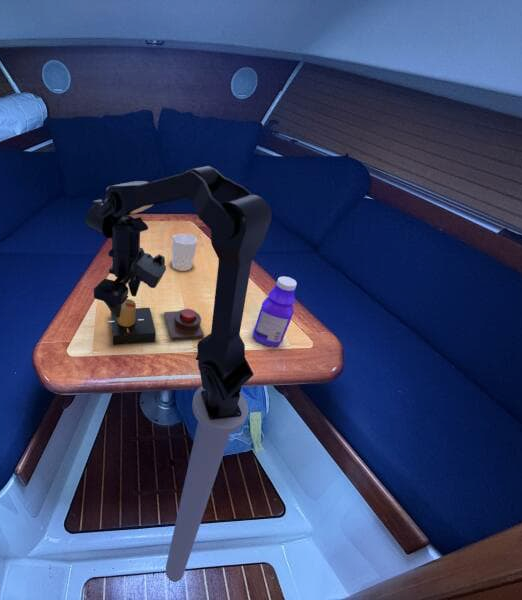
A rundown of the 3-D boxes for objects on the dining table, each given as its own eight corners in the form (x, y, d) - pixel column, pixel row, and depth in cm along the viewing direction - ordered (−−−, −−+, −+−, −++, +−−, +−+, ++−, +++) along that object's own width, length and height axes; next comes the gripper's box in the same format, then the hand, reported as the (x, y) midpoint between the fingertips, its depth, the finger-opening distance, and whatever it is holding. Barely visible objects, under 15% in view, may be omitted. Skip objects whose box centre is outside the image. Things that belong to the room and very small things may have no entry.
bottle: (283, 337, 81) (305, 279, 71) (280, 351, 77) (303, 291, 67) (254, 328, 83) (272, 270, 73) (249, 341, 79) (268, 281, 69)
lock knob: (113, 323, 77) (113, 305, 73) (122, 313, 80) (122, 296, 77) (130, 328, 75) (130, 310, 72) (138, 318, 79) (138, 300, 76)
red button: (196, 322, 80) (197, 317, 79) (182, 323, 79) (183, 317, 78) (192, 313, 82) (193, 308, 81) (179, 314, 82) (179, 309, 81)
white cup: (165, 265, 108) (167, 238, 102) (180, 258, 112) (183, 231, 107) (183, 274, 103) (186, 246, 98) (198, 266, 108) (202, 239, 103)
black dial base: (155, 342, 77) (155, 332, 75) (109, 345, 75) (109, 335, 73) (149, 316, 85) (149, 306, 83) (107, 318, 83) (107, 309, 81)
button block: (204, 338, 79) (205, 329, 77) (171, 341, 77) (172, 331, 76) (193, 313, 87) (195, 304, 85) (164, 315, 85) (164, 306, 84)
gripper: (145, 275, 57) (142, 340, 66) (176, 236, 71) (170, 294, 80) (89, 261, 60) (94, 325, 69) (131, 227, 74) (130, 283, 83)
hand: (125, 306), depth 75 cm, fingers open, 9 cm apart
